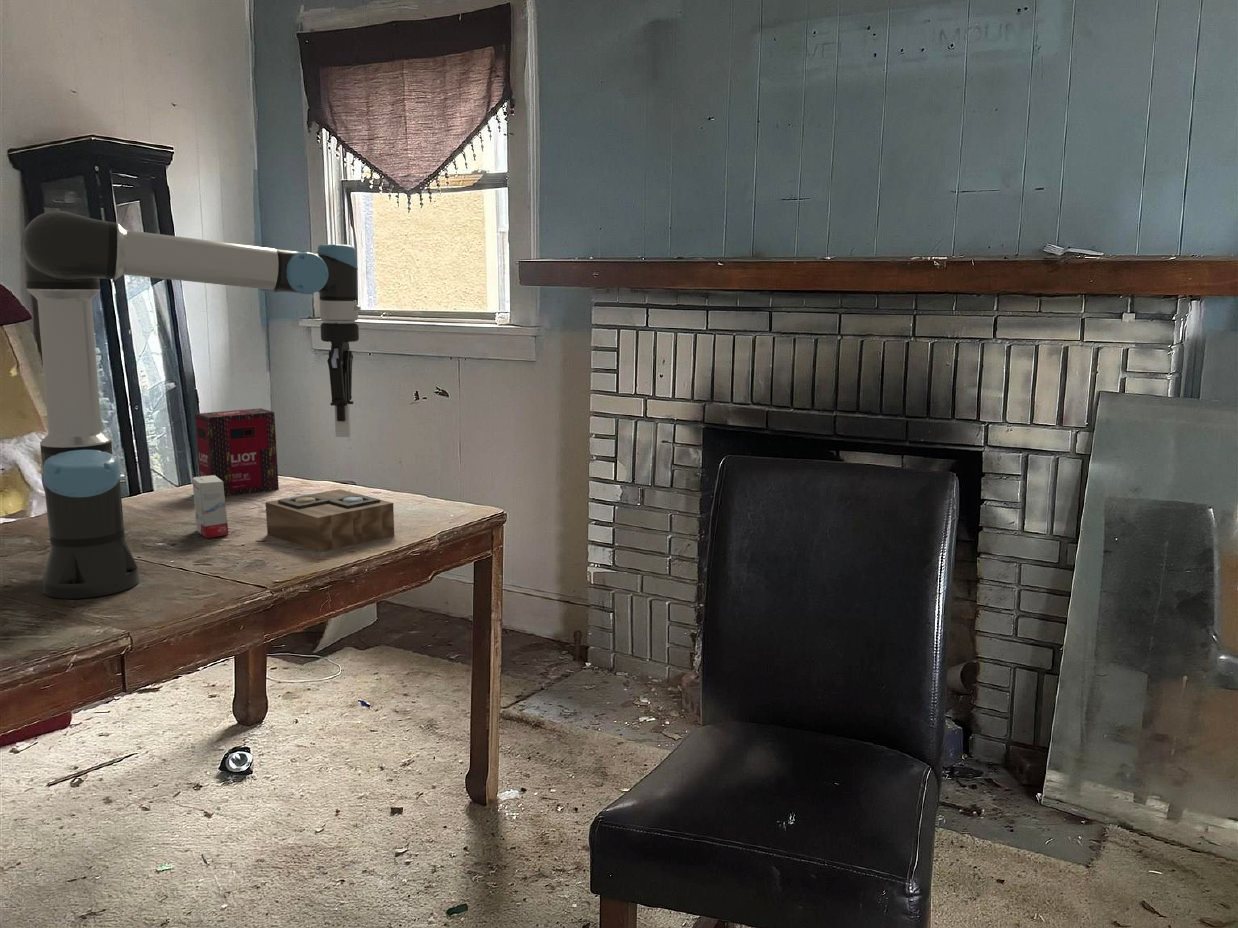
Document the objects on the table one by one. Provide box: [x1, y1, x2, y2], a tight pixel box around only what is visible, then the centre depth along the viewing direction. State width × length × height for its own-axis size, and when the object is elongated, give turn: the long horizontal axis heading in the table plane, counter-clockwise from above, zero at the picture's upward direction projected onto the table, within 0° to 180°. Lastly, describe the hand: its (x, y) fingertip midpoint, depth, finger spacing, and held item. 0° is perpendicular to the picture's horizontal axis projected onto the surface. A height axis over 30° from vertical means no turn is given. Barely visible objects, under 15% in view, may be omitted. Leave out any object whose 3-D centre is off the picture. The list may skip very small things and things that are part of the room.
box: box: [194, 407, 280, 498], centre depth 255 cm, size 16×9×20 cm, turn 130°
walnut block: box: [265, 488, 395, 553], centre depth 215 cm, size 18×20×8 cm
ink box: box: [191, 475, 230, 539], centre depth 215 cm, size 9×5×12 cm, turn 33°
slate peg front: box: [343, 497, 363, 503], centre depth 215 cm, size 4×4×8 cm
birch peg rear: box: [295, 497, 315, 504], centre depth 214 cm, size 4×4×8 cm
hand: (343, 436), depth 211 cm, fingers closed
